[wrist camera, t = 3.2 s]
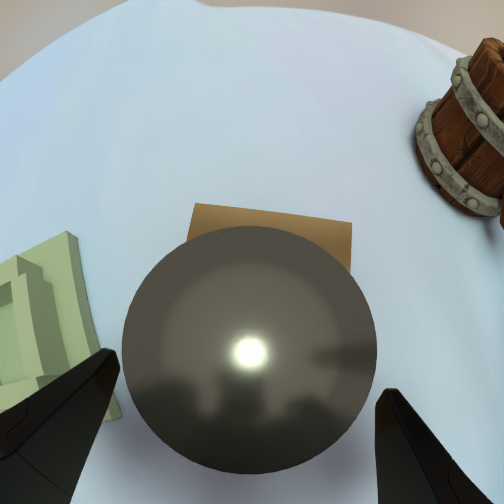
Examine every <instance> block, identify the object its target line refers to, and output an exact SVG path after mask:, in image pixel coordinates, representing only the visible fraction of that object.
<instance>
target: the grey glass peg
mask: <svg viewBox="0 0 504 504" xmlns="http://www.w3.org/2000/svg"><path fill="white" fill-rule="evenodd" d="M376 360H377V339H376V332H375V326H374V321H373V318H372V315H371V311H370V308H369V306H368V303H367V301H366V299H365V297H364V295H363V293H362V291H361V289H360V288H359V286H358V284H357V283H356V281H355V280H354V278H353V277H352V276H351V275H350V273H349V272H348V271H347V270H346V269H345V267H344V266H343V265H342V264H341V263H340V262H339V261H338V260H336V259H335V258H334V257H333V256H332V255H331V254H330V253H328V252H327V251H325V250H324V249H323V248H321V247H320V246H318V245H317V244H315V243H313V242H311V241H309V240H307V239H305V238H304V237H301V236H299V235H296V234H293V233H291V232H288V231H284V230H280V229H276V228H271V227H262V226H236V227H228V228H222V229H218V230H215V231H211V232H207V233H205V234H202V235H200V236H197V237H195V238H193V239H191V240H189V241H187V242H185V243H184V244H182V245H180V246H178V247H177V248H176V249H174V250H173V251H172V252H170V253H169V254H168V255H166V256H165V257H164V258H163V259H162V260H161V261H160V262H159V263H158V264H157V265H156V266H155V267H154V268H153V269H152V270H151V271H150V273H149V274H148V275H147V276H146V278H145V279H144V280H143V282H142V284H141V285H140V287H139V288H138V290H137V292H136V294H135V296H134V298H133V300H132V302H131V305H130V307H129V310H128V313H127V317H126V320H125V324H124V330H123V337H122V362H123V371H124V375H125V379H126V383H127V387H128V389H129V392H130V395H131V397H132V400H133V402H134V404H135V406H136V407H137V409H138V411H139V413H140V415H141V416H142V418H143V419H144V420H145V422H146V423H147V424H148V426H149V427H150V428H151V430H152V431H153V432H154V433H155V434H156V435H157V436H158V437H159V438H160V439H161V440H162V441H163V442H164V443H166V444H167V445H168V446H169V447H171V448H172V449H173V450H174V451H176V452H177V453H179V454H181V455H182V456H184V457H186V458H187V459H189V460H191V461H193V462H196V463H198V464H200V465H203V466H205V467H208V468H211V469H215V470H219V471H222V472H229V473H236V474H263V473H271V472H276V471H280V470H284V469H288V468H291V467H294V466H296V465H299V464H301V463H304V462H306V461H308V460H310V459H312V458H313V457H315V456H317V455H319V454H320V453H322V452H323V451H325V450H326V449H327V448H328V447H330V446H331V445H332V444H334V443H335V442H336V441H337V440H338V439H339V438H340V437H341V436H342V435H343V434H344V433H345V432H346V431H347V430H348V428H349V427H350V426H351V424H352V423H353V422H354V420H355V419H356V418H357V416H358V414H359V413H360V411H361V409H362V407H363V406H364V404H365V402H366V399H367V397H368V394H369V392H370V389H371V386H372V382H373V378H374V374H375V369H376Z"/></svg>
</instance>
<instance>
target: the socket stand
mask: <svg viewBox="0 0 504 504" xmlns="http://www.w3.org/2000/svg"><path fill="white" fill-rule="evenodd" d="M99 350H100V348H99V344H98V340H97V337H96V333H95V329H94V325H93V321H92V317H91V312H90V308H89V303H88V299H87V294H86V289H85V284H84V279H83V273H82V267H81V261H80V255H79V248H78V241H77V238H76V237H75V236H74V235H72V234H71V233H69V232H68V231H65V232H63V233H61V234H59V235H57V236H55V237H53V238H51V239H49V240H47V241H45V242H43V243H41V244H39V245H37V246H35V247H33V248H31V249H29V250H28V251H26V252H24V253H22V254H20V255H15V256H13V257H12V258H10V259H8V260H6V261H5V262H3V263H1V264H0V413H2V412H4V411H5V410H7V409H9V408H11V407H13V406H14V405H16V404H17V403H19V402H21V401H22V400H24V399H25V398H27V397H29V396H30V395H32V394H33V393H35V392H36V391H38V390H39V389H41V388H42V387H44V386H45V385H47V384H48V383H50V382H52V381H53V380H55V379H56V378H58V377H59V376H61V375H62V374H64V373H65V372H67V371H68V370H70V369H72V368H73V367H75V366H76V365H78V364H79V363H81V362H82V361H84V360H85V359H87V358H88V357H90V356H91V355H93V354H95V353H96V352H98V351H99ZM120 416H122V414H121V412H120V409H119V406H118V404H117V401H116V398H115V395H114V392H113V394H112V397H111V401H110V404H109V407H108V409H107V412H106V414H105V416H104V419H103V421H108V420H113V419H115V418H117V417H120ZM103 421H102V422H103Z"/></svg>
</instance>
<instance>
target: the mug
mask: <svg viewBox="0 0 504 504" xmlns="http://www.w3.org/2000/svg"><path fill="white" fill-rule="evenodd" d="M451 83H452V86H451V87H450V89H449V90H448V91H447V93H446V94H445V95H444V97H443V98H442V99H437V100H435V101H433V102H432V101H428V102H427V103H426V108H425V109H424V110H423V112H422V113H421V115H420V117H419V119H418V122H417V124H416V134H417V137H416V138H415V140H416V152H417V155H418V157H419V160H420V162H421V165H422V168H423V170H424V172H425V173H426V175H427V176H428V178H429V179H430V181H431V182H432V184H433V185H439V186H440V189H439V192H440V193H441V194H442V195H443V196H444V197H445V198H446V199H447V200H448V201H449V202H450V203H451V204H452V205H454V206H456V207H457V208H459V209H461V210H462V211H464V212H466V213H467V214H469V215H475V216H480V217H482V216H483V215H484V216H492V217H494V216H497V215H500V214H501V215H500V221H499V222H500V224H501V226H502V228H503V229H504V43H502V42H501V41H500V40H498V39H495V38H486V39H483V41H482V42H481V44H480V45H479V47H478V48H477V50H476V52H475V53H474V55H473V56H467V57H464V58H458V59H457V60H456V67H455V68H454V69H453V72H452V76H451Z"/></svg>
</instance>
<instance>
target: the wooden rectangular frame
mask: <svg viewBox="0 0 504 504" xmlns="http://www.w3.org/2000/svg"><path fill="white" fill-rule="evenodd" d="M236 226H262V227H271V228H276V229H280V230H284V231H288V232H291V233H293V234H296V235H299V236H301V237H304V238H305V239H307V240H309V241H311V242H313V243H315V244H317V245H318V246H320V247H321V248H323V249H324V250H325V251H327V252H328V253H330V254H331V255H332V256H333V257H334V258H335V259H336V260H338V261H339V262H340V263H341V264H342V265H343V266H344V267H345V269H346V270H347V271H348V272H349V273H350V265H351V240H352V223H349V222H343V221H336V220H329V219H322V218H315V217H308V216H301V215H293V214H286V213H278V212H270V211H262V210H254V209H245V208H237V207H228V206H219V205H209V204H200V203H195V206H194V210H193V214H192V219H191V223H190V227H189V232H188V236H187V241H189V240H191V239H193V238H195V237H197V236H200V235H202V234H205V233H207V232H211V231H215V230H218V229H222V228H228V227H236ZM187 241H186V242H187Z"/></svg>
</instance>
